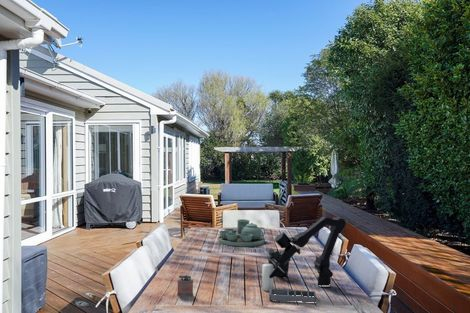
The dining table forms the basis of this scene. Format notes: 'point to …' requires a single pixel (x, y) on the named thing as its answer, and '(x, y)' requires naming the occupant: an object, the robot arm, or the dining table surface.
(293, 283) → the dining table surface
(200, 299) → the dining table surface
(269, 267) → the white smooth rounded part
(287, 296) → the dish rack
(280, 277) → the mug
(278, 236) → the robot arm
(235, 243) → the tea set
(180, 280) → the lighter
